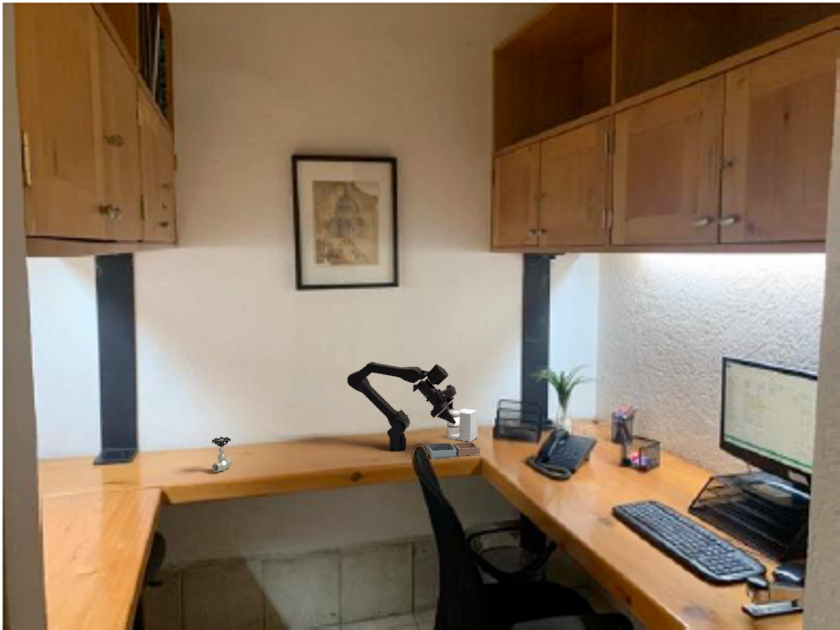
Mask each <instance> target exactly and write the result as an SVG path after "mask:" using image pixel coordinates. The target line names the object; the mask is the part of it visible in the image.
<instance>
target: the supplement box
mask: <svg viewBox="0 0 840 630" xmlns="http://www.w3.org/2000/svg"><path fill="white" fill-rule="evenodd" d="M459 410H460V427H459V432H460V438H459V439H457V440H456V441H460V440H464V441H463V442H466V441H472V440H474V439H475V438H477V437H478V438H479V436H478V434H479V425H478V424H479V421H478V420H479V419H478V418H479V415H478V414H479V412H478V409H472V408H471V409H470V408H461V409H459ZM478 438H477V439H478ZM474 441H475V440H474ZM472 442H473V441H472Z"/></svg>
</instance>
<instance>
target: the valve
mask: <svg viewBox="0 0 840 630" xmlns="http://www.w3.org/2000/svg"><path fill="white" fill-rule="evenodd" d="M229 442H231V438H230V437H228V436H226V437H223V436H219V438H218V437H214V438H213V439H211V444H214V445H216V446H218V447H219V448H218V452H219V454H218V455H217V462H214V463H212V466H211V468H212V471H213V472H215V474H216V473H218V472H224V471H226V470H227V469H229V468H231V467H232V466H233V462H232V460H231V458H229V457H227V455H226V454H225V448H224V446H226V445H227V444H228V443H229Z"/></svg>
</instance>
